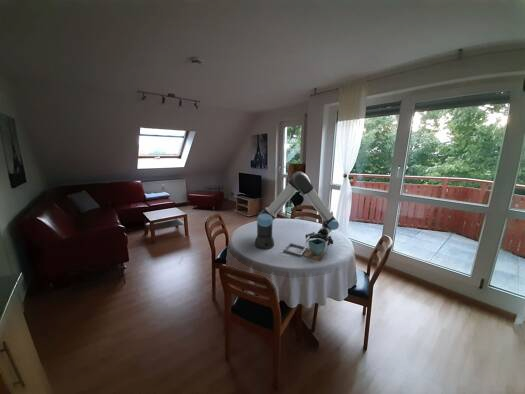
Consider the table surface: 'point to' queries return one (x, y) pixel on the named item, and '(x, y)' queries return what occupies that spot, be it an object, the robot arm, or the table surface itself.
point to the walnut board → (313, 255)
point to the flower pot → (317, 246)
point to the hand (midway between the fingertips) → (315, 243)
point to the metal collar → (295, 252)
